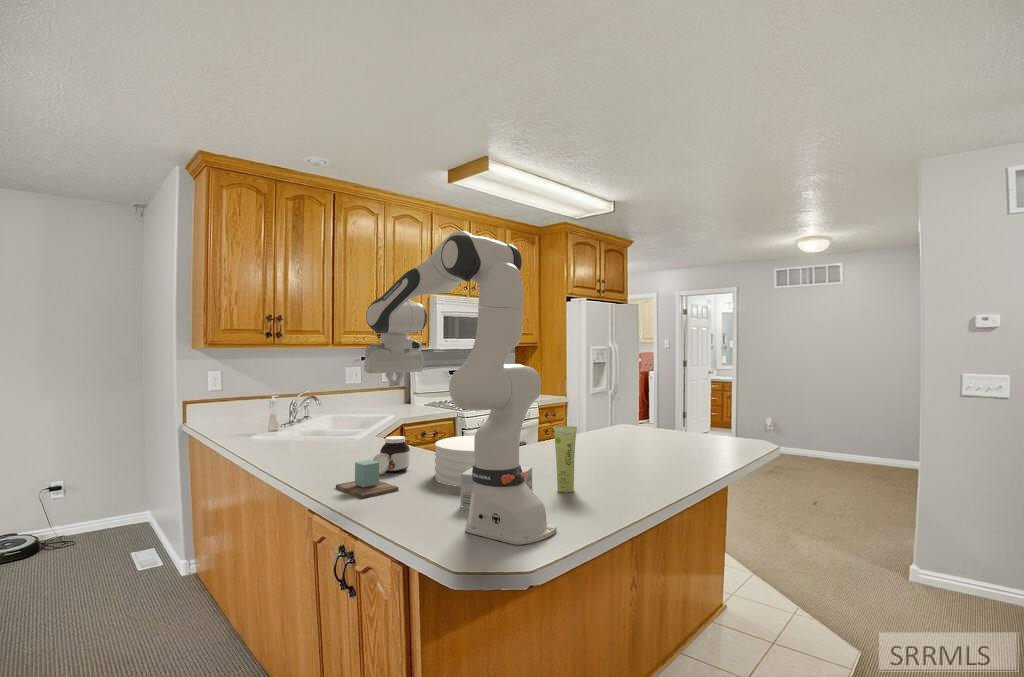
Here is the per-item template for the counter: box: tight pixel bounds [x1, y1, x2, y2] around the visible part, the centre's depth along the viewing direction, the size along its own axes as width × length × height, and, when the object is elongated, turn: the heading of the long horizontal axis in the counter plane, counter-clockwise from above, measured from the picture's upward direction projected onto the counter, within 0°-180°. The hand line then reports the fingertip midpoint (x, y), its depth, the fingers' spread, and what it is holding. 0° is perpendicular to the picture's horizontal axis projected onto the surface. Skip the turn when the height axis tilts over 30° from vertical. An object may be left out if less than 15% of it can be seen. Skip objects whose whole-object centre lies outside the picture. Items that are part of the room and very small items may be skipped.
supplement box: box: [460, 466, 533, 508], centre depth 145 cm, size 17×13×9 cm
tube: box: [552, 425, 578, 493], centre depth 158 cm, size 6×5×20 cm
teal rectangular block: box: [354, 459, 380, 488], centre depth 158 cm, size 5×5×7 cm
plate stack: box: [434, 435, 475, 487], centre depth 175 cm, size 28×28×12 cm
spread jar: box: [372, 435, 411, 476], centre depth 180 cm, size 12×11×12 cm
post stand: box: [335, 480, 399, 499], centre depth 158 cm, size 16×12×8 cm
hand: (394, 386), depth 167 cm, fingers closed
